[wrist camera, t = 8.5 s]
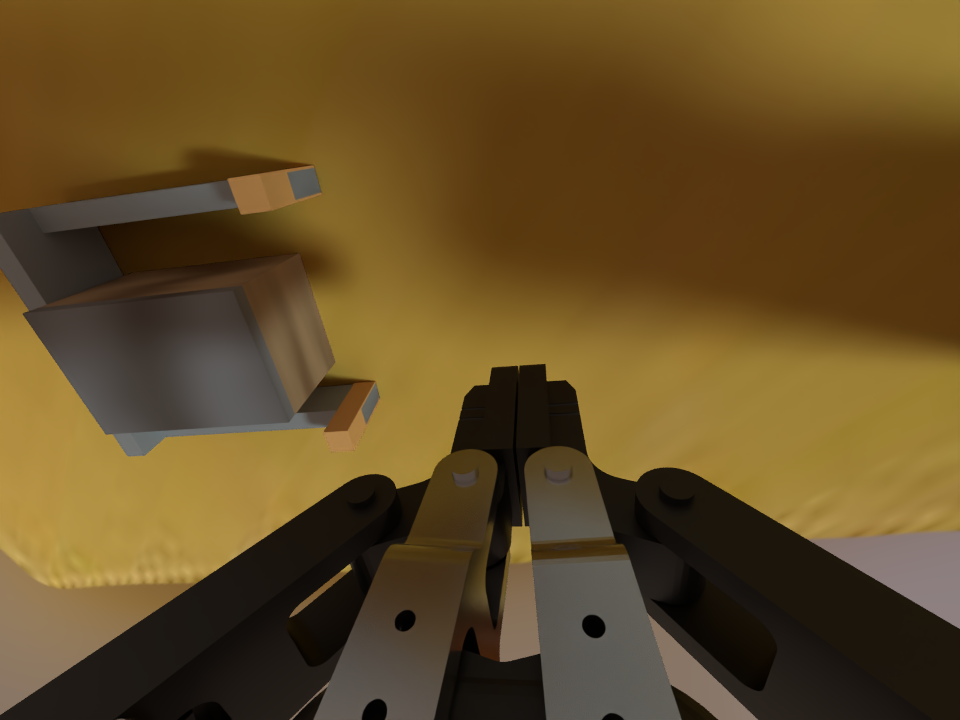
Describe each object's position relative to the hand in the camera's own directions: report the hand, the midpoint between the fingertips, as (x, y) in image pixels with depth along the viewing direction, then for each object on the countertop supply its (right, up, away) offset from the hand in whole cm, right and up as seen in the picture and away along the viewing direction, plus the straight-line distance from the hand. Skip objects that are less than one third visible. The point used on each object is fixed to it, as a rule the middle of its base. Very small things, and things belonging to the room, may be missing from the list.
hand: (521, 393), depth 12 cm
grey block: (-14, +3, +10) cm, 18 cm away
